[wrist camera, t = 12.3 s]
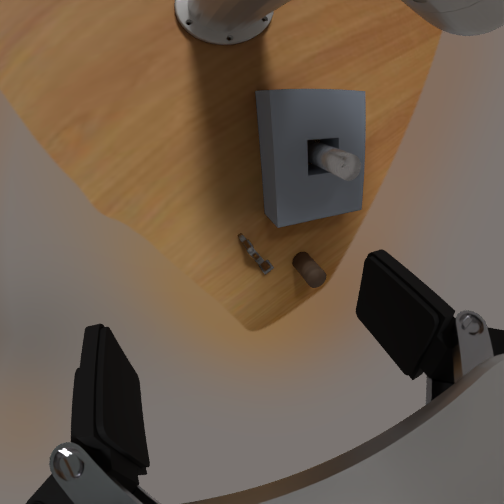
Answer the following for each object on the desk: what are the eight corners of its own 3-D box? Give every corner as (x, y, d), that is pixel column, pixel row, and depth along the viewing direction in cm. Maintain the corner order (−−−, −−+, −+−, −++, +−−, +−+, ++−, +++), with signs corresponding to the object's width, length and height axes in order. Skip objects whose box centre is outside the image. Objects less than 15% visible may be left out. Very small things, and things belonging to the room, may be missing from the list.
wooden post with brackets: (241, 227, 42) (257, 249, 39) (260, 249, 49) (274, 268, 46) (232, 235, 42) (247, 257, 40) (251, 255, 49) (265, 275, 46)
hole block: (255, 90, 33) (269, 90, 29) (344, 89, 36) (365, 91, 32) (264, 213, 43) (277, 227, 39) (343, 198, 46) (361, 209, 42)
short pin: (292, 254, 48) (308, 273, 43) (309, 250, 49) (326, 268, 44) (292, 269, 50) (308, 290, 45) (308, 265, 51) (325, 284, 46)
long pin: (295, 139, 38) (339, 155, 29) (315, 137, 39) (361, 153, 30) (296, 160, 40) (338, 182, 31) (315, 158, 41) (360, 179, 32)
